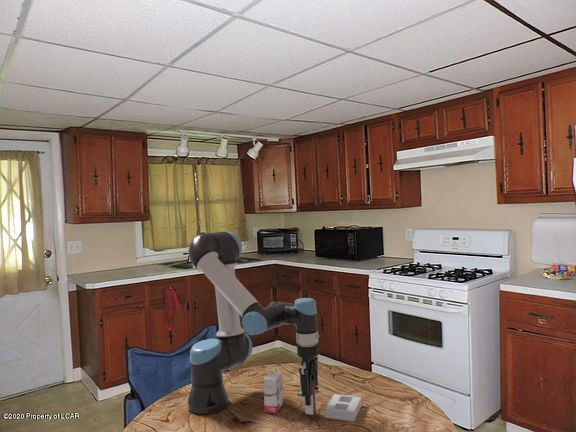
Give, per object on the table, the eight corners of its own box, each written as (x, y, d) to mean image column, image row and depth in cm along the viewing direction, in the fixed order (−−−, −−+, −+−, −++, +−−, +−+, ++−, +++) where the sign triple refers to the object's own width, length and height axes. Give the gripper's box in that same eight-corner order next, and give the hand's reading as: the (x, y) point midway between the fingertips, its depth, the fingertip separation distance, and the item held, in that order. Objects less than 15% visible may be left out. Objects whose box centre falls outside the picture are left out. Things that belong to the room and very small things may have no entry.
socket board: (325, 417, 142) (324, 408, 142) (334, 402, 153) (334, 394, 153) (353, 421, 138) (353, 412, 138) (361, 405, 149) (361, 397, 149)
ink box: (277, 413, 146) (275, 380, 146) (264, 412, 148) (262, 379, 148) (284, 402, 155) (282, 371, 155) (271, 402, 156) (269, 370, 156)
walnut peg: (305, 417, 143) (303, 382, 143) (308, 412, 146) (306, 378, 146) (314, 418, 142) (312, 383, 142) (317, 413, 145) (315, 379, 145)
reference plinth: (297, 395, 161) (296, 383, 161) (304, 387, 168) (304, 375, 168) (307, 396, 159) (306, 384, 159) (313, 388, 167) (313, 376, 167)
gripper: (310, 351, 135) (314, 423, 135) (324, 337, 150) (328, 402, 150) (288, 350, 138) (292, 420, 138) (305, 336, 153) (308, 400, 153)
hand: (311, 411), depth 144 cm, fingers closed on walnut peg, 3 cm apart
